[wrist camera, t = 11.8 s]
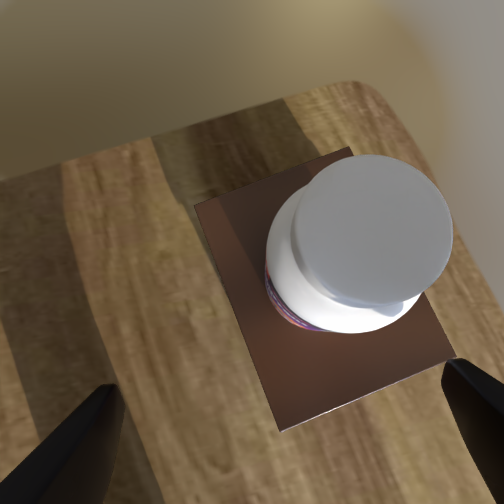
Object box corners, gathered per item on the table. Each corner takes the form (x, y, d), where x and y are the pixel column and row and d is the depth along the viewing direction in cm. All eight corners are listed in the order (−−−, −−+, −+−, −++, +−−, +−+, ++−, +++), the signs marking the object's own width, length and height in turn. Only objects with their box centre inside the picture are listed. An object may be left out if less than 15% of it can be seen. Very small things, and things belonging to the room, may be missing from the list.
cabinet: (426, 346, 22) (470, 351, 17) (276, 410, 21) (279, 433, 16) (342, 176, 24) (360, 141, 20) (206, 228, 24) (193, 205, 19)
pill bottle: (250, 249, 18) (237, 166, 9) (342, 216, 19) (424, 102, 9) (286, 347, 17) (315, 369, 8) (383, 310, 18) (527, 289, 8)
